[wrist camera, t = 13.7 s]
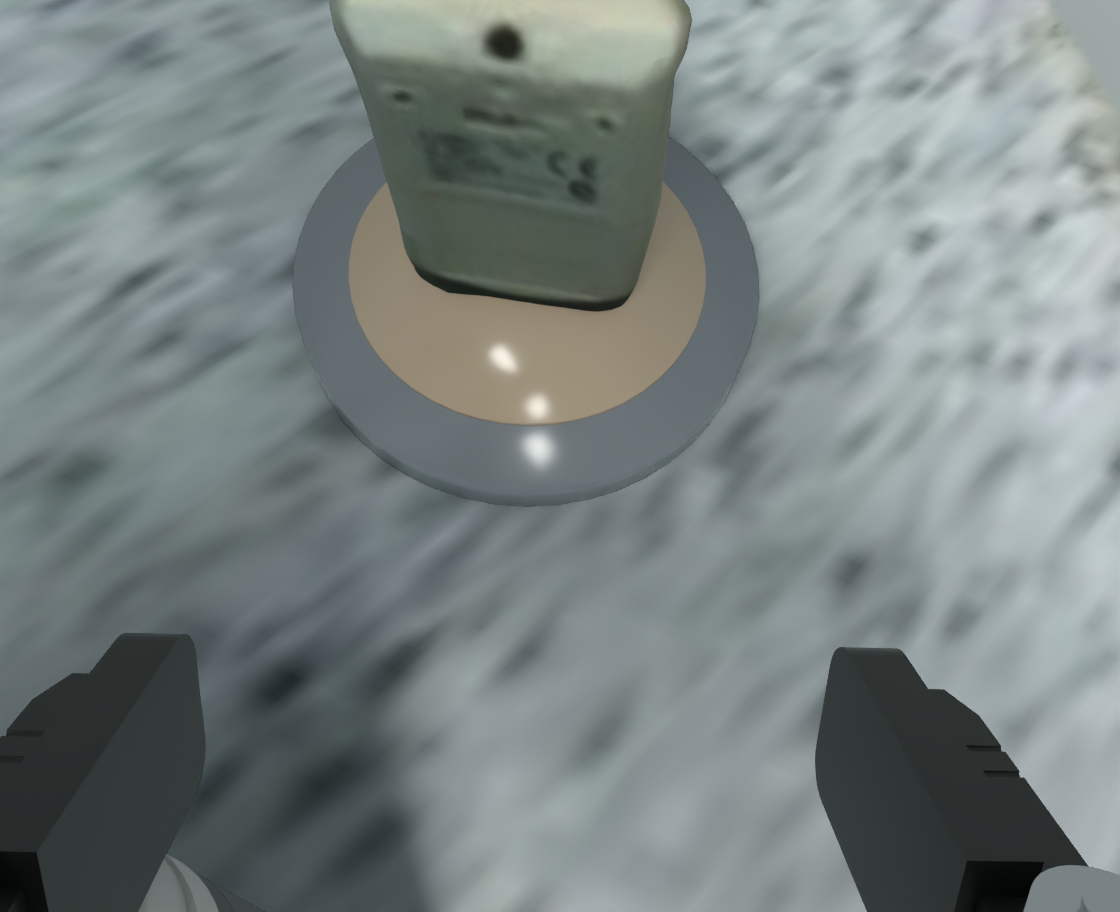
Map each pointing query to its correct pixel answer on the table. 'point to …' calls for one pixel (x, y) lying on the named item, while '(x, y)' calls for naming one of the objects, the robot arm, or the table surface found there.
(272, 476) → the table surface
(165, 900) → the camera
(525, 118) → the off-white rounded piece
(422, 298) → the coaster
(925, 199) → the table surface
